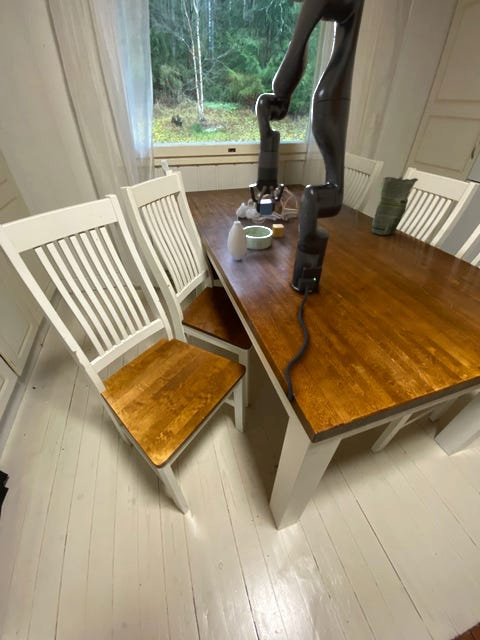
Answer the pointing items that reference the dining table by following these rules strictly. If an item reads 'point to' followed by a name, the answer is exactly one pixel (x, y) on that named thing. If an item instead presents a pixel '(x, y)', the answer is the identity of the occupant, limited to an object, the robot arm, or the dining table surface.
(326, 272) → the dining table surface
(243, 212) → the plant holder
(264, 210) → the blue cube
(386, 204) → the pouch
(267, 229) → the bowl
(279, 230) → the mustard cube
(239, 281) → the dining table surface
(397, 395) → the dining table surface
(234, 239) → the sauce bottle
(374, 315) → the dining table surface
